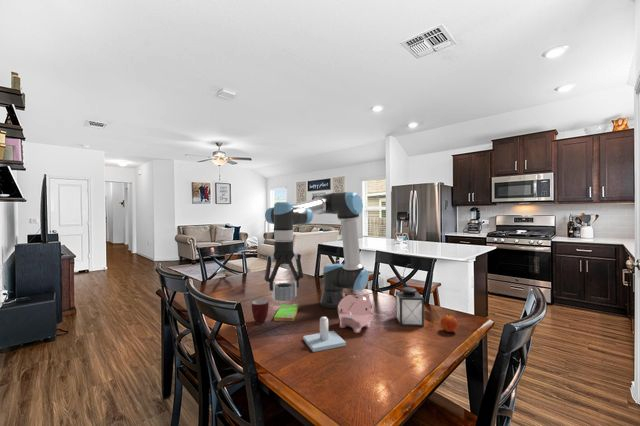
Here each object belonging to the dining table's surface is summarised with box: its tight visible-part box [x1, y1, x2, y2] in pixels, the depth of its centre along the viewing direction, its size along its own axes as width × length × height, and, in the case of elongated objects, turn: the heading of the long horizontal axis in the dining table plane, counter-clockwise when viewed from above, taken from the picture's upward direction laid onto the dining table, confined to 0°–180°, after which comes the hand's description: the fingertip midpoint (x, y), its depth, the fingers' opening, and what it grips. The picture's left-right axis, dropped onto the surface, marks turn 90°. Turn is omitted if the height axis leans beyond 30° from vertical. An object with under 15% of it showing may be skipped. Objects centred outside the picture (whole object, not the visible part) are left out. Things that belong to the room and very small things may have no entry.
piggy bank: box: [337, 292, 375, 334], centre depth 137 cm, size 15×18×16 cm
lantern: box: [395, 264, 425, 327], centre depth 143 cm, size 11×11×28 cm
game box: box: [273, 303, 299, 322], centre depth 155 cm, size 3×10×20 cm
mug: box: [251, 299, 269, 325], centre depth 142 cm, size 11×8×10 cm
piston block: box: [302, 316, 347, 353], centre depth 121 cm, size 14×12×10 cm
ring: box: [274, 282, 295, 302], centre depth 118 cm, size 8×8×5 cm
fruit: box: [440, 313, 458, 333], centre depth 131 cm, size 7×7×8 cm
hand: (284, 297), depth 118 cm, fingers closed on ring, 8 cm apart
